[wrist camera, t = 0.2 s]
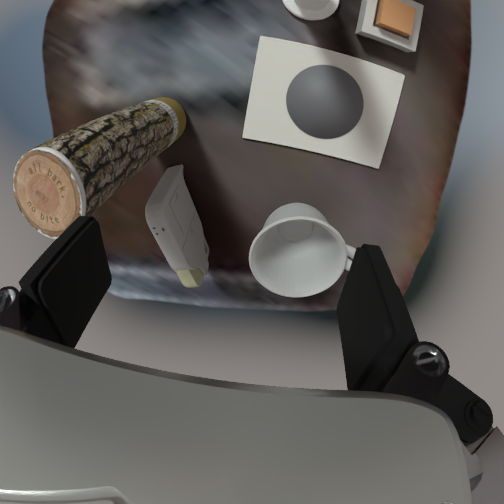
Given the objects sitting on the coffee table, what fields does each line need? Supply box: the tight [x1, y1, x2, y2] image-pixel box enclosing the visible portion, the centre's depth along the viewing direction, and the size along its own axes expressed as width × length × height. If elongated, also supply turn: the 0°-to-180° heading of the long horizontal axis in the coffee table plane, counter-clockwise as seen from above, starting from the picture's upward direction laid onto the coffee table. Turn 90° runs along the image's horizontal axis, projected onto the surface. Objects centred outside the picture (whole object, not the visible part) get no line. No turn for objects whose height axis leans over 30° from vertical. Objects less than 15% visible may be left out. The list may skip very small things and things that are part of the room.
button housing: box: [355, 0, 424, 52], centre depth 25 cm, size 7×7×3 cm
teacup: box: [249, 203, 356, 297], centre depth 40 cm, size 12×15×10 cm
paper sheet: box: [242, 36, 405, 169], centre depth 34 cm, size 14×19×1 cm
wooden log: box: [13, 97, 186, 239], centre depth 27 cm, size 7×7×25 cm
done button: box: [375, 0, 416, 36], centre depth 23 cm, size 4×4×2 cm
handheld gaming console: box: [145, 164, 209, 288], centre depth 41 cm, size 11×3×15 cm
